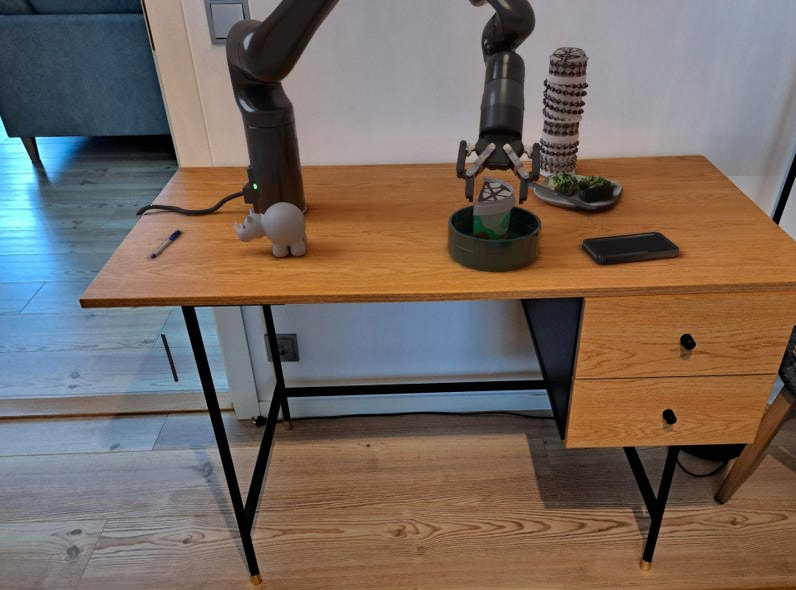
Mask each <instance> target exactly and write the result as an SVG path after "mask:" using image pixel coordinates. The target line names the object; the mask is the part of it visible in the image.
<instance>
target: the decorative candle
mask: <svg viewBox="0 0 796 590" xmlns="http://www.w3.org/2000/svg"><path fill="white" fill-rule="evenodd" d="M548 59H549V65H548V66H549V67H548V72H547V76H546V78H545V79H544V80H543V86H544V87H545V89H544V90H543V91H542V93H543V97H544V98H542V104H543V105H544V107H543V108H542V117H541V118H542V119H543V128H542V131H541V138H540V139H539V144H540V176H542V177H545V178H546V177H547V176H549V175H552V174H558V173H561V172H563V173H568V174H575V175H576V169H577V161H578V155H577V153H579V148H578V146H579V145H580V141H579V138H580V137H579V136H580V130H579V129H580V122H581V121H582V120H583V115H582V114H584V113H585V110H584V109H583V107H584V106H586V102H585V101H584V100H583V98H584V97H586V96H588V92H587V91H586V89H587V88H589V86H590V85H589V84H588V83H587V76H588V74H587V68H588V62H589V60H590V57H588V56H587V53H586V52H585V51H584V50H583V49H582V48H579V47H572V46H565V47H558V48H556V49H555V50H554V51H553V52H552V54H551V55H549V56H548Z"/></svg>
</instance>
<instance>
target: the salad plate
mask: <svg viewBox="0 0 796 590" xmlns="http://www.w3.org/2000/svg"><path fill="white" fill-rule="evenodd" d="M528 188H530V189H531V190H532V191H533V195H534V196H535V197H537V198H538V199H539V200H541V201H542V202H543V203H546V204H548V205H550V206H554V207H559V208H564V209H568V210H573V211H576V212H584V213H601V212H602V213H603V212H606V211H608V210H610V209H612V207H614V206H615V205H616V204H617V202H618V200H619V199H620V197H621V195H622V193H623V190H624V189H623V186H622V184H621V183H619V182H618V181H616V180H613V179H609V178H605V177H603V176H602V177H601V176H599V175H596V176H594V175H589V176H586V175H580V174H576V173H575V174H568V173H563V172H561V173H558V174H552V175H549V176H547V177H546V176H545V177H544V178H543V179H542V180H541V182H540V183H537V182H535V181H532V182H530V183H529V184H528Z"/></svg>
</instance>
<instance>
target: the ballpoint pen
mask: <svg viewBox="0 0 796 590" xmlns="http://www.w3.org/2000/svg"><path fill="white" fill-rule="evenodd" d="M181 232H182V231H181V230H180V229H176V230H175V231H174V232H172V233H171V235H170V237H169V238H168V239H167V240H166V241H165V242H163V244H161V246H159V247H158V248H157V249H155V251H154V252H153V253H152V254H151V256H150V258H151V259H154V258H156V257H157V256H158V255H159V254H161V252H162V251H163V250H164V249H165V248H166V247H168V246H169V244H171V243H172V242H173V241H174V240H175V239H176V238H177V237H178V236H180V234H181Z"/></svg>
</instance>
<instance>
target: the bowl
mask: <svg viewBox="0 0 796 590" xmlns="http://www.w3.org/2000/svg"><path fill="white" fill-rule="evenodd" d="M473 213H474V204H472V205H467V206H464V207H461V208H458V209H457V210H455V211H453V212H452V213H451V214H450V215H449V216H448V219H447V250H448V254H449V257H451V259H452V260H453V261H455V262H456V263H457V264H459V265H461V266H464V267H467V268H470V269H472V270H477V271H484V272H497V273H498V272H509V271H515V270H519V269H522V268H525V267H527V266H528V265H529V266H530V264H532V263H533V262H534V261H535V260H536V258H537V257H538V253H539V250H540V243H541V232H542V220H541V218H540V217H539V216H538V214H535V213H534V212H532V211H531V210H529V209H526V208H524V207H521V206H517V205H515V206H514V207H513V208H512V209H511V212H510V219H509V226H508V233H507V239H506V240H487V239H480V238H475V237H473V233H474V215H473Z"/></svg>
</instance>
